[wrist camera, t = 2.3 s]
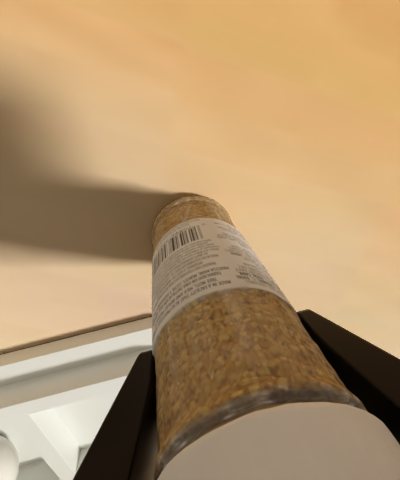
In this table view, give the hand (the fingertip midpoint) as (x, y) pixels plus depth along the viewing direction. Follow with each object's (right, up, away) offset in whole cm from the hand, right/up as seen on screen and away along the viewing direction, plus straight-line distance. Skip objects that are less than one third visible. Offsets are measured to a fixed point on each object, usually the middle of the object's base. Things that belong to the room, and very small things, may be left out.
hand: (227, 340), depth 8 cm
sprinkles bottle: (-1, +4, +7) cm, 8 cm away
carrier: (-11, -9, +11) cm, 18 cm away
